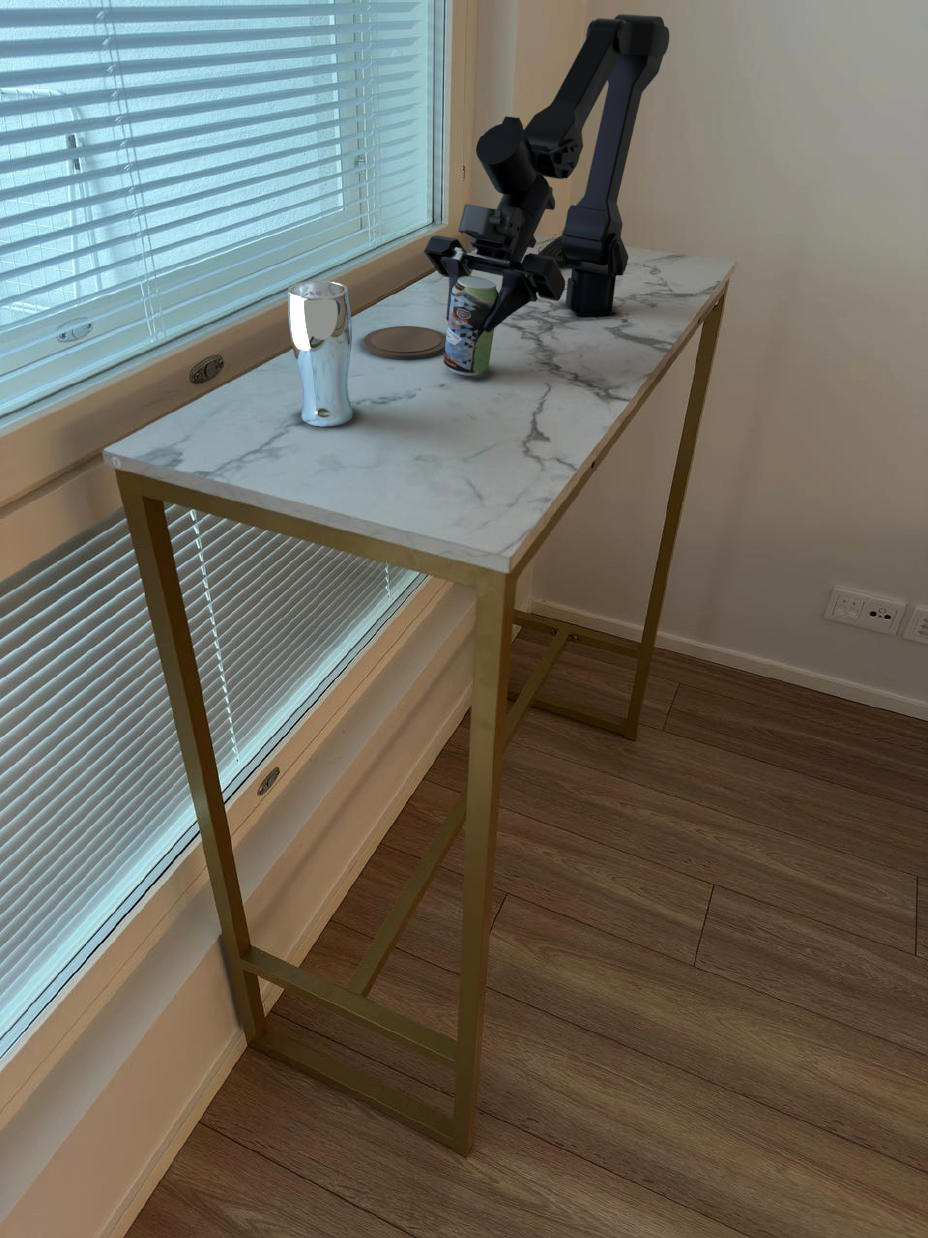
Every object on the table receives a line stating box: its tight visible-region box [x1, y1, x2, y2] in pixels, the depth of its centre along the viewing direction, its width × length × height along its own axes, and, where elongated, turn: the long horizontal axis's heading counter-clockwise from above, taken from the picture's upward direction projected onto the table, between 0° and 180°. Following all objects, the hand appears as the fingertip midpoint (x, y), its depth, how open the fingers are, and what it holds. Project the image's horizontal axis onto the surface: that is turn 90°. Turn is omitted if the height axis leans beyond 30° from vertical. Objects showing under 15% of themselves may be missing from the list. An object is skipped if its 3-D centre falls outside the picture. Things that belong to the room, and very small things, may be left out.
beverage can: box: [443, 275, 499, 377], centre depth 117 cm, size 6×7×12 cm
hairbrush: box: [537, 230, 563, 267], centre depth 161 cm, size 8×4×25 cm
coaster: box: [363, 325, 447, 361], centre depth 129 cm, size 12×12×1 cm
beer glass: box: [287, 280, 354, 428], centre depth 104 cm, size 7×7×15 cm
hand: (467, 325), depth 116 cm, fingers closed on beverage can, 5 cm apart
